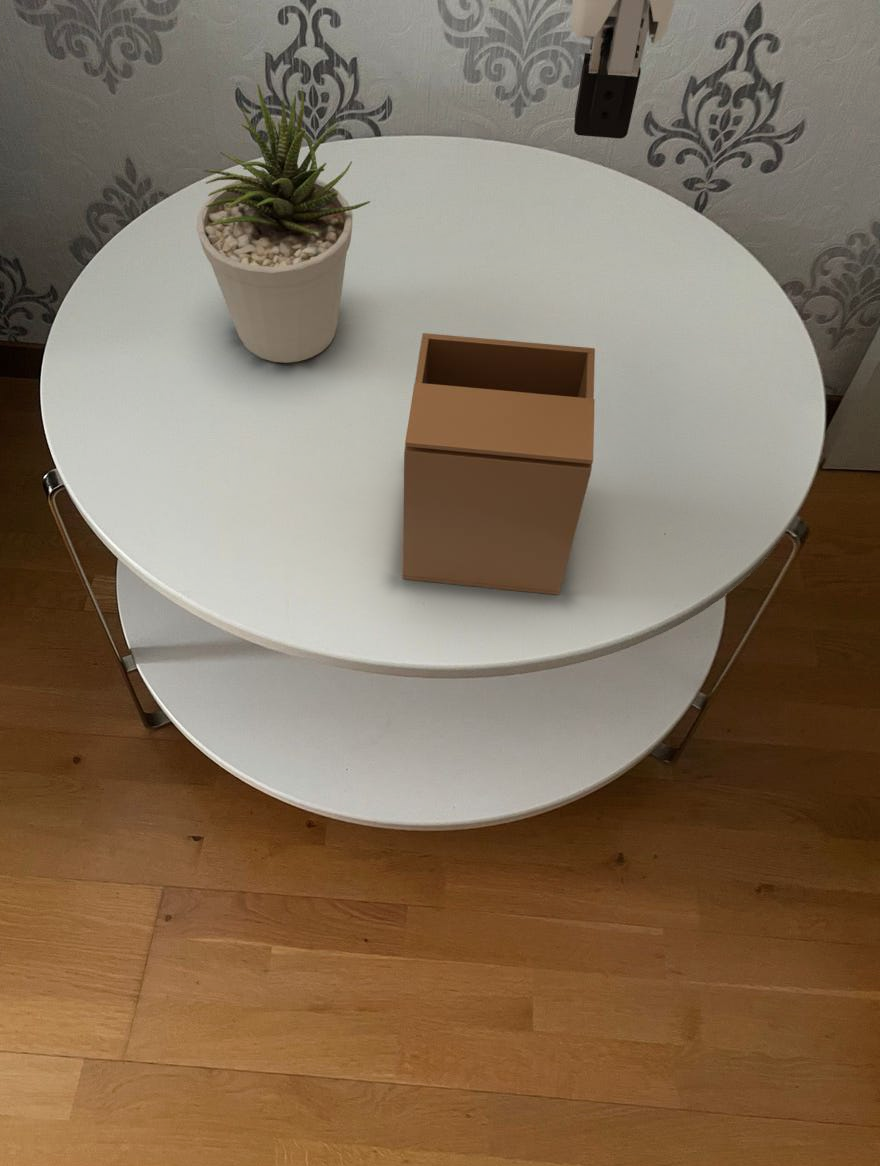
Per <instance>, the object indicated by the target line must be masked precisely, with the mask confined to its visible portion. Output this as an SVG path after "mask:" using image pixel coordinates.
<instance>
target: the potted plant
mask: <svg viewBox="0 0 880 1166" xmlns="http://www.w3.org/2000/svg"><path fill="white" fill-rule="evenodd" d="M256 85H257V91H258V97H259V102H260V108H261V111H262V115H263V121H264V125H265V129H266V134H267V138H268V143H269V146H268V144H267V143H266V141H265V140H264V139H263V138H262V137H261V136H260V134H259V133H258V131H257V130H256V129H255V127H254V125H253V123H251V121H250V119H249V117H248V115H247V114H246V112H245V111H244V109H243V108H242V107H240V111H241V112H242V115H243V117H244V119H245V122H246V123H247V125H248V126H247V125H245V124H243V123H240V126H242V127H243V128H244V129H246V130H247V131H248V132H250V133H251V134H252V136H253V138H254V140H255V142H256V143H257V145H258V148H259V150H260V152H261V155H262V157H263V161H264V162H262V161H247V162H245V161H243V160H240V159H238V158H236V157H234V156H231V155H229V154H227V153H224V152H222V151H220V152H219V153H220V154H221V155H222V156H225V157H226V158H228V159H230V160H232V161H233V162H235V163H237V164H238V165H240V166H241V167H243V168H242V170H247V171H248V172H249V173H250V174H251V175H248V176H247V175H242V174H236V173H232V172H228V171H222V170H217V169H215V170H214V169H203V172H206V173H212V174H213V173H214V174H218V175H223V176H218V177H217V176H216V177H215V178H212V179H210V180H207V181H206V182H205V185H207V184H210V183H214V182H217V181H228V180H230V181H232V182H229V183H228V184H226V185H224V186H223V187H221V188H218V189H216V190H214V191H212V192H210V193H208V194H207V197H208V199H207V200H206V201H205V202H204V204H203V205H202V206H201V208H200V211H199V213H198V215H197V220H196V231H197V235H198V239H199V242H200V245H201V247H202V250H203V253H204V254H205V257H206V259H207V260H208V262H209V264H210V266H211V268H212V271H213V273H214V275H215V278H216V281H217V283H218V286H219V289H220V291H221V294H222V297H223V299H224V302H225V304H226V308H227V310H228V313H229V315H230V317H231V320H232V322H233V325H234V327H235V330H236V333H237V334H238V337H239V339H240V341H241V342H242V344H243V345H244V347H245V348H246V349H247V350H248V351H249V352H250V353H252V354H254V355H255V356H257V357H258V358H260V359H262V360H266V361H270V362H274V363H283V364H286V363H296V362H297V363H299V362H302V361H305V360H308V359H311V358H313V357H314V356H317V355H319V354H320V353H322V352H323V351H324V350H325V349H327V348H328V346H330V344H331V343H332V341H333V339H334V338H335V335H336V332H337V328H338V324H339V323H338V322H339V316H340V307H341V300H342V292H343V285H344V276H345V270H346V262H347V255H348V254H347V253H348V251H349V248H350V245H351V241H352V232H353V212H352V210H357V209H359V208H361V207H364V206H366V205H368V204H370V202H371V200H368V201H364V202H361V203H358V204H355V205H350V203H349V202H348V201H347V199H346V198H345V197H344V196H343V195H342V194H341V193H340V192H339V191H338V189H336V188H334V186H335V185H336V184H337V183H339V181H340V180H341V179H342V178H343V177H344V176H345V175H346V174H347V172H348V171H349V169H350V167H351V165H352V163H353V161H350V162H349V164H348V165H347V167H346V168H345V170H344V171H343V172H341V173H340V174H339V175H338V176H337V177H335V178H334V179H332V180H331V181H330V182H329V183H326V182H324V181H323V180H321V179H319V178H318V177H319V176H320V175H321V173H322V172H324V171H325V166H326V165H327V162H324V163H323V164H322V165H320V166H319V167H318V165H317V157H316V152H317V149H318V148H319V147H320V146H321V144H322V143H323V142H324V140H325V139H326V137H328V136H329V135H330V134H331V133H332V132H333V131H334V130H335V129H336V128H337V127H339V126H340V123H337V124H335V125H333V126H332V127H330V128H329V129H328V130H327V131H325V132H324V133H323V135H321V136H320V137H319V139H317V141H316V142H315V143H314V144H313V143H312V141H311V139H310V138H309V135H308V134H307V132H306V130H305V129H304V128H302V127H303V119H304V112H305V95H304V88H303V87H301V101H300V107H299V112H298V117H297V122H296V111H297V109H296V108H297V107H296V106H297V105H296V104H297V94H294V96H293V100H292V101H291V112H290V116H289V122H288V121H287V120H288V119H287V114H286V106H285V98H283V99H282V100H281V120H280V121H278V122H277V126H276V124H275V122H274V120H273V118H272V116H271V114H270V112H269V110H268V108H267V104H266V101H265V99H264V96H263V93H262V90H261V87H260V84H259V83H258V82H257V83H256ZM277 128H278V130H277ZM303 138H305V140H306V142H307V146H308V150H309V152H308V153H307V155H306V156H305V158H304V160H303V161H302V163H301V164H300V166H299V165H298V162H299V155H300V152H301V147H302V143H303ZM310 163H311V164H310ZM255 166H256V167H260V168H262V169H258V168H256V167H255ZM309 166H310V167H309ZM308 168H309V169H308Z"/></svg>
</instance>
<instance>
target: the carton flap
mask: <svg viewBox="0 0 880 1166" xmlns="http://www.w3.org/2000/svg"><path fill="white" fill-rule="evenodd" d="M595 402H596V401H595V398H594V399H590V398H579V397H568V396H557V395H546V394H535V393H524V392H513V391H502V390H491V389H480V388H469V387H458V386H447V385H436V384H425V383H415V382H414V383H413V390H412V397H411V403H410V409H409V415H408V423H407V428H406V435H405V441H404V447H405V446H407V447H418V448H428V449H439V450H449V451H460V452H470V453H481V454H491V455H502V456H512V457H523V458H533V459H544V460H554V461H565V462H575V463H586V464H593V462H594V444H595V443H594V441H595V440H594V437H595V405H596V403H595Z"/></svg>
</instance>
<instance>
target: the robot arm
mask: <svg viewBox="0 0 880 1166" xmlns="http://www.w3.org/2000/svg"><path fill="white" fill-rule="evenodd" d="M675 2H676V0H572V3H571V5H572V6H571V29H572V31H573V32H574V34H575V36H576V37H577V38H578V39H581V40H584V38H585V37H590V41H589V50H588V51H589V52H584V56H583V61H582V62H583V63H582V68H581V74H580V81H579V86H578V92H577V99H576V103H575V111H574V125H573V126H574V127H573V132H574V134H576V135H577V136H580V137H581V136H582V137H592V138H593V137H594V138H607V139H624V138H626V137H627V135H628V133H629V128H630V124H631V119H632V114H633V111H634V110H633V109H634V105H635V100H636V96H637V91H638V86H639V83H640V78H641V72H642V68H641V64H642V63H641V62H642V58H643V53H644V50H645V46H646V42H647V37H648V38H650V41H651V44H655V43H657V42H659V41H660V40H661V39H663V37H664V36H665V35H666V33H667V30H668V27H669V23H670V20H671V16H672V13H673V10H674V5H675Z"/></svg>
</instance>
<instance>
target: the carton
mask: <svg viewBox="0 0 880 1166" xmlns="http://www.w3.org/2000/svg"><path fill="white" fill-rule="evenodd" d="M595 357H596V349H595V347H586V346H583V347H582V346H573V345H563V344H552V343H542V342H541V343H540V342H530V341H529V342H528V341H517V340H506V339H496V338H495V339H493V338H483V337H472V336H471V337H470V336H461V335H449V334H438V333H428V332H427V333H426V332H423V333H422V334H421V340H420V347H419V354H418V361H417V366H416V372H415V373H416V374H415V379H414V383H425V384H436V385H447V386H458V387H469V388H480V389H491V390H502V391H513V392H524V393H535V394H546V395H557V396H568V397H579V398H590V399H595V360H596V358H595ZM403 450H404V451H403V507H402V508H403V509H402V510H403V511H402V513H403V515H402V529H403V530H402V580H408V581H409V580H411V581H421V582H428V583H429V582H430V583H438V584H447V585H457V586H468V587H477V588H486V589H495V590H506V591H515V592H516V591H518V592H524V593H525V592H526V593H536V594H537V593H538V594H546V595H554V596H555V595H556V596H559V595H560V593H561V588H562V585H563V584H562V583H563V581H564V576H565V573H566V570H567V566H568V561H569V557H570V554H571V550H572V546H573V543H574V538H575V535H576V531H577V527H578V523H579V521H580V520H579V519H580V516H581V511H582V508H583V505H584V501H585V496H586V493H587V489H588V485H589V481H590V477H591V474H592V469H593V465H592V464H593V463H592V464H586V463H575V462H565V461H554V460H544V459H533V458H523V457H512V456H502V455H491V454H481V453H470V452H460V451H449V450H439V449H428V448H418V447H407V446H405V445H404V449H403Z"/></svg>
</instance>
